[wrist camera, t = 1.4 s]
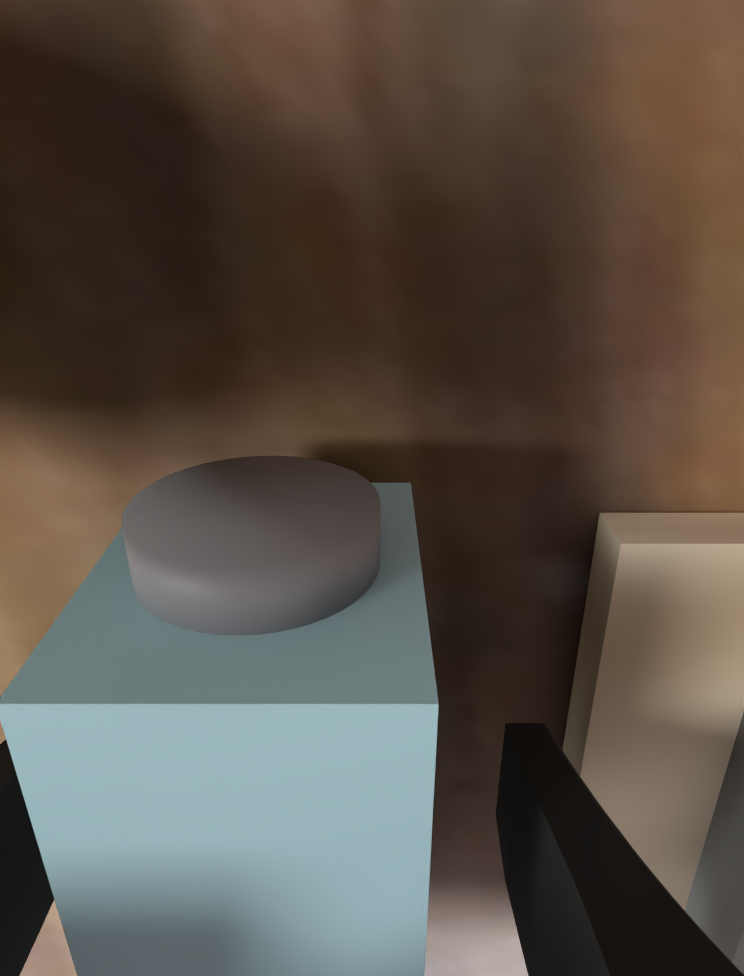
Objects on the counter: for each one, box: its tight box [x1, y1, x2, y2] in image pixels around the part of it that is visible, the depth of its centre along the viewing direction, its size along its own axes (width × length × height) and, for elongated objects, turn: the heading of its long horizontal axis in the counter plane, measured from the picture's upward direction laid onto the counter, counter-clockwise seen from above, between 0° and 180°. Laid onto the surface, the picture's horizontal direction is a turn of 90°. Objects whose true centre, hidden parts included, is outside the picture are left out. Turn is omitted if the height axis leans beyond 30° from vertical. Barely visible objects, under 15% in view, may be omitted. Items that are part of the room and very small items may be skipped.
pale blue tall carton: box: [0, 456, 439, 976], centre depth 10 cm, size 10×4×5 cm, turn 0°
